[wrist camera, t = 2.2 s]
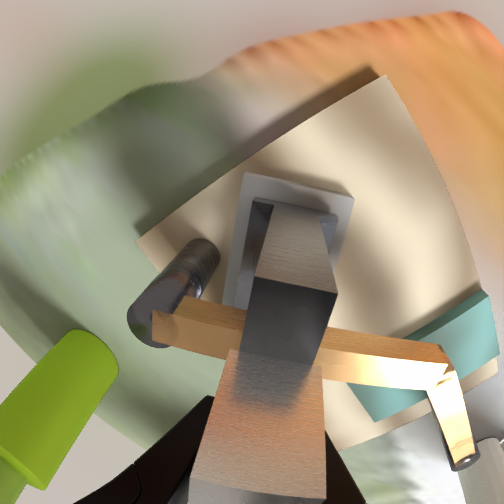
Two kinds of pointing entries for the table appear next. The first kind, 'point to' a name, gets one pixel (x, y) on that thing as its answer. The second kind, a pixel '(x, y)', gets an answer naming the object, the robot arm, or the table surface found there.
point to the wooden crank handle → (328, 356)
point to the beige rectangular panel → (358, 246)
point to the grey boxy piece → (273, 367)
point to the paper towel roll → (485, 475)
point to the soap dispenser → (51, 411)
